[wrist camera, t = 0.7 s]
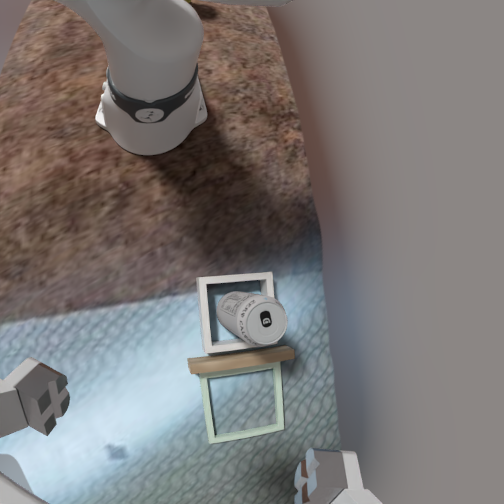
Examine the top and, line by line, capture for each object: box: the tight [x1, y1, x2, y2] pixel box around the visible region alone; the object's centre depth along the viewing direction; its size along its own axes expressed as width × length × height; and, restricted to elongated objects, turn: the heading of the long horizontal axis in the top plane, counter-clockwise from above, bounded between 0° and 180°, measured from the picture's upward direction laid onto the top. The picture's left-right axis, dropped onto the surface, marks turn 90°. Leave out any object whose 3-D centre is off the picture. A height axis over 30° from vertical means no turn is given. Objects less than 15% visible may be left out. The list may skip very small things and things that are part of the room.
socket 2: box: [199, 361, 284, 444], centre depth 47 cm, size 13×13×1 cm
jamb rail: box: [187, 345, 295, 374], centre depth 46 cm, size 2×16×4 cm, turn 94°
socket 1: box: [196, 272, 277, 353], centre depth 47 cm, size 11×11×3 cm
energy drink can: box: [217, 291, 287, 347], centre depth 41 cm, size 6×6×15 cm
